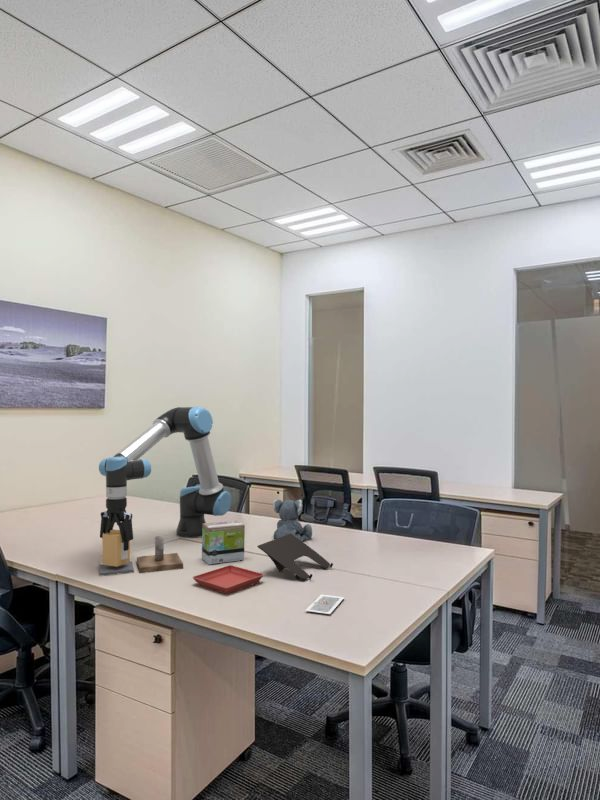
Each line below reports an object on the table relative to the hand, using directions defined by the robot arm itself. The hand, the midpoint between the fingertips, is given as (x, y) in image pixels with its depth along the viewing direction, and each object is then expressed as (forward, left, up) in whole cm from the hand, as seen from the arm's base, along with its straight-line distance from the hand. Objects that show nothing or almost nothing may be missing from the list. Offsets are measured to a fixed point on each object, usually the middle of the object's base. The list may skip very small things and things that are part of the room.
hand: (116, 557), depth 206 cm
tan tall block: (0, 0, -2) cm, 2 cm away
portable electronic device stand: (-64, +27, -5) cm, 70 cm away
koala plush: (-77, -18, -5) cm, 79 cm away
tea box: (-41, +2, -5) cm, 41 cm away
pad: (0, 0, -5) cm, 5 cm away
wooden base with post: (-16, 0, -5) cm, 17 cm away
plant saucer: (-36, +32, -5) cm, 48 cm away
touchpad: (-59, +64, -5) cm, 87 cm away
